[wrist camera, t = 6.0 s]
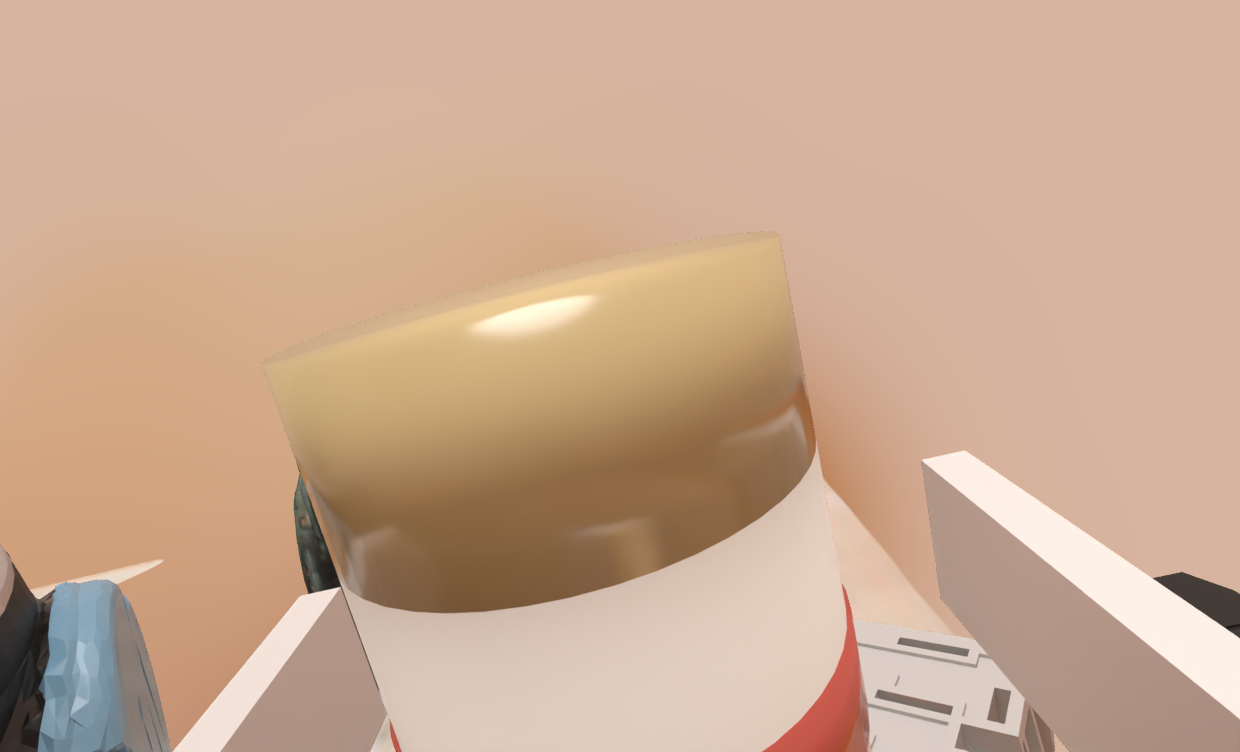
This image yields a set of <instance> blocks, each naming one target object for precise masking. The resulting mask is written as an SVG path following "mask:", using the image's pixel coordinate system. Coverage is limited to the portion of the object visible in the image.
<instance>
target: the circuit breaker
mask: <svg viewBox="0 0 1240 752" xmlns="http://www.w3.org/2000/svg"><path fill="white" fill-rule="evenodd" d="M853 623H854V629H855V634H856V640H857V646H858V652H859V657H860V663H861V669H862V674H863V680H864V686H865V692H866V697H867V703H868V712H869V725H870V733H869V742H870V748H871V752H1055V745H1054V735H1053V732H1052V730H1051V729H1050V728H1049V727H1048V726H1047V724H1046V723H1045V722H1044V721H1043V720H1042V719H1041V717H1040V716H1039V715H1038V714H1037V713H1036V711H1035V710H1034V709H1033V708H1032V707H1031V705H1030V704H1029V703H1028V702H1027V701H1026V700H1025V698H1024V697H1023V696H1022V695H1021V694H1020V692H1019V691H1018V690H1017V689H1016V688H1015V686H1014V685H1013V684H1012V683H1011V682H1010V680H1009V679H1008V678H1007V677H1006V676H1005V675H1004V673H1003V672H1002V671H1001V670H1000V669H999V667H998V666H997V665H996V664H995V663H994V661H993V660H992V659H991V658H990V657H989V655H988V654H987V653H986V652H985V651H984V650H983V648H982V647H981V646H980V645H979V644H978V642H977V641H976V640H975V639H971V638H964V637H959V636H953V635H947V634H941V633H935V632H929V631H923V630H917V629H911V628H905V627H899V626H893V625H887V624H881V623H875V622H869V621H863V620H857V619H853Z"/></svg>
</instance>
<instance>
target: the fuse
mask: <svg viewBox="0 0 1240 752" xmlns="http://www.w3.org/2000/svg"><path fill="white" fill-rule="evenodd" d="M261 366H262V369H263V371H264V374H265V377H266V380H267V383H268V385H269V388H270V391H271V393H272V396H273V399H274V402H275V404H276V407H277V410H278V413H279V415H280V418H281V421H282V424H283V426H284V429H285V432H286V434H287V437H288V440H289V443H290V446H291V448H292V451H293V454H294V457H295V459H296V462H297V465H298V468H299V470H300V473H301V476H302V479H303V481H304V484H305V487H306V490H307V492H308V495H309V498H310V501H311V503H312V506H313V509H314V512H315V514H316V517H317V520H318V523H319V525H320V528H321V531H322V534H323V536H324V539H325V542H326V545H327V547H328V550H329V553H330V556H331V558H332V561H333V564H334V567H335V569H336V572H337V575H338V578H339V580H340V583H341V586H342V589H343V591H344V594H345V597H346V600H347V602H348V605H349V608H350V611H351V613H352V616H353V619H354V622H355V624H356V627H357V630H358V633H359V635H360V638H361V641H362V644H363V646H364V649H365V652H366V655H367V657H368V660H369V663H370V666H371V668H372V671H373V674H374V677H375V679H376V682H377V685H378V688H379V690H380V693H381V696H382V699H383V701H384V704H385V707H386V710H387V712H388V715H389V718H390V731H391V738H392V741H393V744H394V748H395V751H396V752H871V748H870V742H869V733H870V725H869V712H868V703H867V697H866V692H865V686H864V680H863V674H862V669H861V663H860V657H859V652H858V646H857V640H856V634H855V629H854V623H853V617H852V612H851V607H850V603H849V600H848V597H847V593H846V590H845V588H844V587H843V585H842V583H841V578H840V572H839V567H838V561H837V555H836V550H835V544H834V538H833V533H832V527H831V521H830V516H829V510H828V504H827V499H826V493H825V487H824V482H823V476H822V471H821V465H820V459H819V453H818V448H817V443H816V437H815V431H814V425H813V419H812V414H811V408H810V403H809V397H808V392H807V386H806V380H805V374H804V369H803V363H802V358H801V352H800V346H799V340H798V335H797V329H796V323H795V318H794V312H793V306H792V301H791V296H790V289H789V284H788V279H787V272H786V267H785V261H784V255H783V250H782V244H781V239H780V235H779V234H778V233H775V232H747V233H738V234H730V235H722V236H715V237H709V238H702V239H696V240H691V241H685V242H679V243H674V244H668V245H663V246H657V247H653V248H647V249H642V250H637V251H632V252H628V253H623V254H618V255H613V256H609V257H604V258H600V259H595V260H591V261H586V262H582V263H577V264H573V265H569V266H564V267H560V268H556V269H552V270H548V271H543V272H539V273H535V274H531V275H527V276H523V277H519V278H515V279H511V280H507V281H503V282H499V283H495V284H491V285H488V286H483V287H480V288H476V289H472V290H468V291H464V292H461V293H457V294H454V295H450V296H446V297H443V298H439V299H435V300H432V301H428V302H424V303H421V304H418V305H414V306H411V307H407V308H404V309H400V310H397V311H393V312H390V313H387V314H383V315H380V316H377V317H374V318H371V319H367V320H364V321H361V322H358V323H355V324H351V325H349V326H345V327H342V328H339V329H336V330H333V331H331V332H328V333H325V334H322V335H319V336H316V337H313V338H311V339H308V340H305V341H303V342H300V343H298V344H295V345H293V346H290V347H288V348H285V349H283V350H281V351H279V352H277V353H275V354H273V355H271V356H270V357H268V358H266V359H265V360H264V361H263V362H262V363H261Z"/></svg>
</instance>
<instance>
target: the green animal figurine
mask: <svg viewBox="0 0 1240 752" xmlns="http://www.w3.org/2000/svg"><path fill="white" fill-rule="evenodd" d="M297 466H298V465H297ZM298 469H299V468H298ZM299 472H300V470H299ZM294 514H295V526H296V537H297V544H298V550H299V556H300V561H301V566H302V571H303V575H304V581H305V584H306V587H307V590H308V594H311V593H316V592H320V591H325V590H330V589H334V588H339V587H341V589H342V586H341V583H340V580H339V578H338V575H337V572H336V569H335V567H334V564H333V561H332V558H331V556H330V553H329V550H328V547H327V545H326V542H325V539H324V536H323V534H322V531H321V528H320V525H319V523H318V520H317V517H316V514H315V512H314V509H313V506H312V503H311V501H310V498H309V495H308V492H307V490H306V487H305V484H304V481H303V479H302V476H301V473H300V475H299V480H298V485H297V489H296V492H295V497H294ZM342 592H343V595H344V598H345V600H346V597H345V594H344V591H343V589H342ZM346 603H347V606H348V609H349V611H350V608H349V605H348V602H347V600H346ZM350 614H351V617H352V620H353V622H354V619H353V616H352V613H351V611H350ZM354 625H355V628H356V631H357V633H358V630H357V627H356V624H355V622H354ZM358 636H359V639H360V641H361V638H360V635H359V633H358ZM361 644H362V641H361ZM362 647H363V650H364V652H365V649H364V646H363V644H362ZM365 655H366V652H365ZM366 658H367V661H368V663H369V660H368V657H367V655H366ZM369 666H370V663H369ZM370 669H371V672H372V674H373V671H372V668H371V666H370ZM373 677H374V674H373ZM374 680H375V683H376V685H377V682H376V679H375V677H374ZM377 688H378V685H377ZM378 690H379V688H378Z"/></svg>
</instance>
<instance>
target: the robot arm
mask: <svg viewBox="0 0 1240 752" xmlns="http://www.w3.org/2000/svg"><path fill="white" fill-rule="evenodd" d="M921 463H922V470H923V477H924V484H925V491H926V498H927V505H928V513H929V520H930V527H931V534H932V541H933V548H934V555H935V563H936V570H937V577H938V583H939V591H940V598H941V599H942V601H943V602H944V603H945V604H946V605H947V606H948V608H949V609H950V610H951V611H952V613H953V614H954V615H955V616H956V617H957V619H958V620H959V621H960V622H961V623H962V625H963V626H964V627H965V628H966V629H967V630H968V632H969V633H970V634H971V635H972V636H973V638H974V639H975V640H976V641H977V642H978V644H979V645H980V646H981V647H982V648H983V650H984V651H985V652H986V653H987V654H988V655H989V657H990V658H991V659H992V660H993V661H994V663H995V664H996V665H997V666H998V667H999V669H1000V670H1001V671H1002V672H1003V673H1004V675H1005V676H1006V677H1007V678H1008V679H1009V680H1010V682H1011V683H1012V684H1013V685H1014V686H1015V688H1016V689H1017V690H1018V691H1019V692H1020V694H1021V695H1022V696H1023V697H1024V698H1025V700H1026V701H1027V702H1028V703H1029V704H1030V705H1031V707H1032V708H1033V709H1034V710H1035V711H1036V713H1037V714H1038V715H1039V716H1040V717H1041V719H1042V720H1043V721H1044V722H1045V723H1046V724H1047V726H1048V727H1049V728H1050V729H1051V730H1052V732H1053V733H1054V734H1055V735H1056V736H1057V738H1058V739H1059V740H1060V741H1061V742H1062V743H1063V745H1064V746H1065V747H1066V748H1067V749H1068V751H1069V752H1240V594H1239V593H1237V592H1235V591H1234V590H1231V589H1228V588H1225V587H1223V586H1220V585H1217V584H1214V583H1211V582H1208V581H1205V580H1202V579H1200V578H1197V577H1194V576H1191V575H1189V574H1186V573H1183V572H1180V573H1176V574H1171V575H1166V576H1161V577H1156V578H1151V577H1149V576H1148V575H1146V574H1145V573H1143V572H1142V571H1141V570H1139V569H1138V568H1136V567H1135V566H1133V565H1132V564H1130V563H1129V562H1127V561H1126V560H1125V559H1123V558H1122V557H1120V556H1119V555H1117V554H1116V553H1114V552H1112V551H1111V550H1110V549H1108V548H1107V547H1106V546H1104V545H1103V544H1101V543H1100V542H1098V541H1097V540H1095V539H1094V538H1092V537H1091V536H1089V535H1088V534H1086V533H1085V532H1083V531H1082V530H1081V529H1079V528H1078V527H1076V526H1075V525H1073V524H1072V523H1070V522H1069V521H1067V520H1066V519H1065V518H1063V517H1062V516H1060V515H1059V514H1057V513H1056V512H1054V511H1053V510H1051V509H1050V508H1048V507H1047V506H1045V505H1044V504H1043V503H1041V502H1040V501H1038V500H1037V499H1035V498H1034V497H1032V496H1031V495H1029V494H1028V493H1027V492H1025V491H1024V490H1022V489H1020V488H1019V487H1017V486H1016V485H1015V484H1013V483H1012V482H1010V481H1009V480H1007V479H1006V478H1005V477H1003V476H1002V475H1000V474H998V473H997V472H996V471H994V470H993V469H991V468H990V467H988V466H987V465H986V464H984V463H983V462H981V461H980V460H978V459H977V458H975V457H974V456H972V455H971V454H969V453H968V452H966V451H961V452H956V453H951V454H947V455H942V456H938V457H933V458H928V459H924V460H921ZM386 715H387V713H386V710H385V707H384V705H383V702H382V699H381V696H380V694H379V691H378V688H377V685H376V683H375V680H374V677H373V674H372V672H371V669H370V666H369V663H368V661H367V658H366V655H365V652H364V650H363V647H362V644H361V641H360V639H359V636H358V633H357V631H356V628H355V625H354V622H353V620H352V617H351V614H350V611H349V609H348V606H347V603H346V600H345V598H344V595H343V592H342V589H341V587H339V588H334V589H330V590H325V591H320V592H316V593H311V594H307V595H302V596H300V597H299V598H298V600H297V601H296V602H295V603H294V605H293V606H292V607H291V608H290V609H289V611H288V612H287V613H286V614H285V615H284V617H283V618H282V619H281V620H280V621H279V623H278V624H277V625H276V627H275V628H274V629H273V630H272V631H271V632H270V634H269V635H268V636H267V637H266V639H265V640H264V641H263V642H262V643H261V645H260V646H259V647H258V649H257V650H256V651H255V652H254V653H253V654H252V656H251V657H250V658H249V659H248V661H247V662H246V663H245V664H244V665H243V667H242V668H241V669H240V670H239V672H238V673H237V674H236V675H235V676H234V678H233V679H232V680H231V681H230V683H229V684H228V685H227V686H226V687H225V689H224V690H223V691H222V692H221V693H220V695H219V696H218V697H217V698H216V700H215V701H214V702H213V703H212V705H211V706H210V707H209V708H208V709H207V711H206V712H205V713H204V714H203V715H202V717H201V718H200V719H199V720H198V722H197V723H196V724H195V725H194V726H193V728H192V729H191V730H190V731H189V733H188V734H187V735H186V736H185V737H184V739H183V740H182V741H181V742H180V744H179V745H178V746H177V747H176V748H175V750H174V751H173V752H370V751H371V748H372V746H373V744H374V742H375V740H376V737H377V735H378V733H379V731H380V729H381V726H382V724H383V722H384V720H385V717H386ZM0 752H171V748H170V743H169V738H168V733H167V728H166V724H165V719H164V715H163V710H162V706H161V701H160V697H159V693H158V689H157V685H156V681H155V677H154V673H153V669H152V666H151V662H150V658H149V655H148V651H147V648H146V645H145V642H144V639H143V635H142V632H141V629H140V627H139V624H138V621H137V618H136V616H135V613H134V611H133V608H132V606H131V604H130V603H129V601H128V600H127V598H126V597H125V595H123V594H122V592H121V590H120V588H119V586H118V585H116V584H115V583H113V582H111V581H109V580H93V581H88V582H84V583H76V582H74V583H67V582H65V583H62V584H60V585H58V586H55V589H54V590H53V591H51V592H50V593H48V594H47V595H45V596H44V597H43V598H41V599H37V598H35V597H34V595H33V594H32V592H31V591H30V590H29V588H28V587H27V585H26V583H25V582H24V580H23V578H22V577H21V575H20V574H19V572H18V570H17V569H16V568H15V565H14V564H13V562H12V561H11V558H10V556H9V555H8V553H7V552H6V551H5V550H4V549H3V547H2V546H1V544H0Z"/></svg>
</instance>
